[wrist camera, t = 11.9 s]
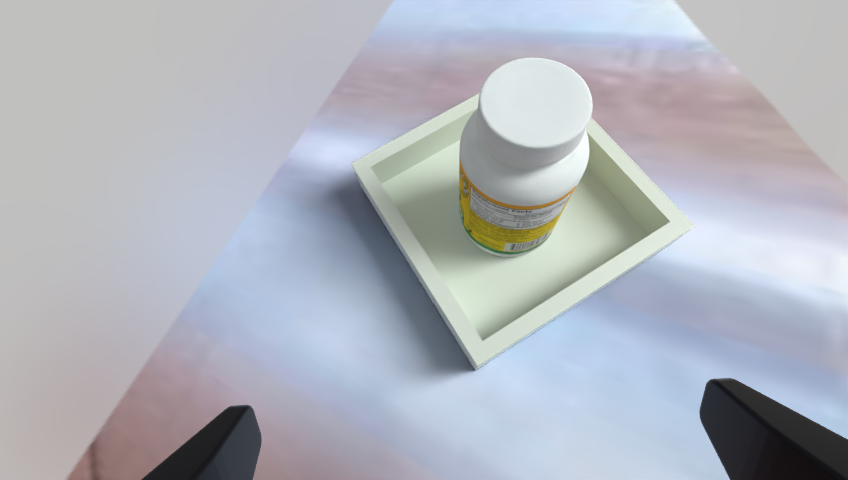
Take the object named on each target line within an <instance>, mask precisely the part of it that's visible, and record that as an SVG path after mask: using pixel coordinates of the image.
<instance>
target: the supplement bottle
mask: <svg viewBox="0 0 848 480" xmlns="http://www.w3.org/2000/svg"><path fill="white" fill-rule="evenodd" d="M591 113H592V97H591V93H590V91H589V88H588V86H587V85H586V83H585V81H584V80H583V79H582V78H581V77H580V76H579V75H578V74H577V73H576V72H575V71H573V70H572V69H571V68H569V67H567V66H566V65H564V64H561V63H559V62H556V61H553V60H549V59H544V58H522V59H518V60H514V61H511V62H508V63H506V64H504V65H502V66H500V67H499V68H497V69H496V70H495V71H494V72H493V73H491V74H490V75H489V77H488V78H487V79H486V81H485V82H484V84H483V86H482V89H481V91H480V94H479V101H478V109H477V110H476V111H475V112H474V113H473V114H472V115H471V117H470V118H469V119H468V121H467V123H466V125H465V127H464V129H463V132H462V135H461V139H460V149H459V212H460V218H461V223H462V226H463V229H464V231H465V233H466V235H467V236H468V238H469V239H470V240H471V241H472V242H473V243H474V244H475V245H476V246H477V247H479V248H480V249H482V250H484V251H486V252H488V253H490V254H493V255H497V256H502V257H515V256H521V255H525V254H528V253H530V252H532V251H534V250H536V249H537V248H539V247H540V246H541V245H542V244H543V243H544V242H545V241H546V240H547V239H548V238H549V236H550V235H551V233H552V231H553V229H554V227H555V225H556V224H557V222H558V220H559V218H560V216H561V214H562V213H563V211H564V209H565V207H566V205H567V203H568V201H569V199H570V197H571V196H572V194H573V192H574V190H575V188H576V187H577V185H578V183H579V181H580V180H581V178H582V176H583V174H584V172H585V169H586V167H587V163H588V159H589V140H588V135H587V132H586V127H587V125H588V122H589V120H590V117H591Z"/></svg>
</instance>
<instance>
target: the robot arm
mask: <svg viewBox="0 0 848 480" xmlns="http://www.w3.org/2000/svg"><path fill="white" fill-rule="evenodd" d="M700 419H701V422H702V424H703V427H704V429H705V431H706V433H707V435H708V437H709V439H710V441H711V443H712V445H713V447H714V449H715V451H716V452H717V454H718V456H719V458H720V460H721V462H722V464H723V466H724V468H725V470H726V472H727V474H728V476H729V478H730V480H848V439H846V438H844V437H842V436H840V435H838V434H836V433H834V432H833V431H831V430H829V429H827V428H825V427H823V426H821V425H820V424H818V423H816V422H814V421H812V420H810V419H808V418H806V417H805V416H803V415H801V414H799V413H797V412H795V411H793V410H791V409H790V408H788V407H786V406H784V405H782V404H780V403H778V402H776V401H775V400H773V399H771V398H769V397H767V396H765V395H763V394H761V393H760V392H758V391H756V390H754V389H752V388H750V387H748V386H746V385H745V384H743V383H741V382H739V381H737V380H735V379H731V378H722V379H711V380H709V381H708V382H707V384H706V387H705V391H704V395H703V399H702V403H701V407H700ZM260 448H261V432H260V429H259V426H258V423H257V420H256V416H255V413H254V410H253V408H252V407H251V406H249V405H237V406H230V407H228V408H227V409H225V410H224V411H223V412H222V413H220V414H219V415H218V416H217V417H216V418H214V419H213V420H212V421H211V422H210V423H209V424H207V425H206V426H205V427H204V428H203V429H201V430H200V431H199V432H198V433H197V434H195V435H194V436H193V437H192V438H191V439H189V440H188V441H187V442H186V443H185V444H183V445H182V446H181V447H180V448H179V449H177V450H176V451H175V452H174V453H173V454H171V455H170V456H169V457H168V458H167V459H165V460H164V461H163V462H162V463H161V464H159V465H158V466H157V467H156V468H155V469H153V470H152V471H151V472H150V473H149V474H147V475H146V476H145V477H144V478H143V479H141V480H253V476H254V472H255V468H256V464H257V460H258V456H259V452H260Z"/></svg>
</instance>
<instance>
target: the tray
mask: <svg viewBox="0 0 848 480" xmlns="http://www.w3.org/2000/svg"><path fill="white" fill-rule="evenodd" d="M479 94H480V93H479ZM479 94H477V95H475V96H473V97H472V98H470V99H468V100H466V101H464V102H462V103H461V104H459V105H457V106H455V107H453V108H451V109H450V110H448V111H446V112H444V113H442V114H440V115H439V116H437V117H435V118H433V119H431V120H429V121H428V122H426V123H424V124H422V125H420V126H419V127H417V128H415V129H413V130H411V131H409V132H408V133H406V134H404V135H402V136H400V137H398V138H397V139H395V140H393V141H391V142H389V143H387V144H386V145H384V146H382V147H380V148H378V149H376V150H375V151H373V152H371V153H369V154H367V155H365V156H364V157H362V158H360V159H358V160H356V161H354V162H353V163H351V165H352V167H353V169H354V172H355V174H356V176H357V178H358V181H359V183H360V185H361V187H362V189H363V191H364V193H365V194H366V196H367V197H368V199H369V201H370V202H371V204H372V206H373V207H374V209H375V210H376V212H377V214H378V215H379V217H380V218H381V220H382V222H383V223H384V225H385V226H386V228H387V230H388V231H389V233H390V235H391V236H392V238H393V239H394V241H395V243H396V244H397V246H398V247H399V249H400V251H401V252H402V254H403V255H404V257H405V259H406V260H407V262H408V264H409V265H410V267H411V268H412V270H413V272H414V273H415V275H416V276H417V278H418V280H419V281H420V283H421V284H422V286H423V288H424V289H425V291H426V293H427V294H428V296H429V297H430V299H431V301H432V302H433V304H434V305H435V307H436V309H437V310H438V312H439V313H440V315H441V317H442V318H443V320H444V322H445V323H446V325H447V326H448V328H449V330H450V331H451V333H452V334H453V336H454V338H455V339H456V341H457V342H458V344H459V346H460V347H461V349H462V351H463V352H464V354H465V355H466V357H467V359H468V360H469V362H470V363H471V365H472V367H473V368H474V370H475V371H476V370H477V369H479V368H480V367H482V366H484V365H485V364H487V363H488V362H490V361H491V360H493V359H494V358H496V357H498V356H499V355H501V354H502V353H504V352H505V351H507V350H508V349H510V348H511V347H513V346H515V345H516V344H518V343H519V342H521V341H522V340H524V339H525V338H527V337H529V336H530V335H532V334H533V333H535V332H536V331H538V330H539V329H541V328H542V327H544V326H546V325H547V324H549V323H550V322H552V321H553V320H555V319H556V318H558V317H560V316H561V315H563V314H564V313H566V312H567V311H569V310H570V309H572V308H573V307H575V306H577V305H578V304H580V303H581V302H583V301H584V300H586V299H587V298H589V297H591V296H592V295H594V294H595V293H597V292H598V291H600V290H601V289H603V288H604V287H606V286H608V285H609V284H611V283H612V282H614V281H615V280H617V279H618V278H620V277H622V276H623V275H625V274H626V273H628V272H629V271H631V270H632V269H634V268H635V267H637V266H639V265H640V264H642V263H643V262H645V261H646V260H648V259H649V258H651V257H653V256H654V255H656V254H657V253H659V252H660V251H662V250H663V249H665V248H667V247H668V246H669V245H671V244H672V243H673V242H675V241H676V240H677V239H679V238H680V237H681V236H683V235H684V234H685V233H687V232H688V231H689V230H691V229H692V228H693V227H695V226H694V224H693V223H692V222H691V221H690V220H689V219H688V218H687V217H686V216H685V215H684V214H683V213H682V212H681V211H680V210H679V209H678V208H677V207H676V206H675V205H674V204H673V202H672V201H671V200H670V199H669V198H668V197H667V196H666V195H665V194H664V193H663V192H662V191H661V190H660V189H659V188H658V187H657V186H656V185H655V184H654V183H653V181H652V180H651V179H650V178H649V177H648V176H647V175H646V174H645V173H644V172H643V171H642V170H641V169H640V168H639V167H638V166H637V165H636V164H635V163H634V162H633V161H632V159H631V158H630V157H629V156H628V155H627V154H626V153H625V152H624V151H623V150H622V149H621V148H620V147H619V146H618V145H617V144H616V143H615V142H614V141H613V140H612V139H611V137H610V136H609V135H608V134H607V133H606V132H605V131H604V130H603V129H602V128H601V127H600V126H599V125H598V124H597V123H596V122H595V121H594V120H593V119H592V118H591V117H590V120H589V122H588V125H587V127H586V132H587V135H588V140H589V159H588V163H587V167H586V169H585V172H584V174H583V176H582V178H581V180H580V181H579V183H578V185H577V187H576V188H575V190H574V192H573V194H572V196H571V197H570V199H569V201H568V203H567V205H566V207H565V209H564V211H563V213H562V214H561V216H560V218H559V220H558V222H557V224H556V225H555V227H554V229H553V231H552V233H551V235H550V236H549V238H548V239H547V240H546V241H545V242H544V243H543V244H542V245H541V246H540V247H539V248H537V249H536V250H534V251H532V252H530V253H528V254H525V255H521V256H515V257H502V256H497V255H493V254H490V253H488V252H486V251H484V250H482V249H480V248H479V247H477V246H476V245H475V244H474V243H473V242H472V241H471V240H470V239H469V238H468V236H467V235H466V233H465V231H464V229H463V226H462V223H461V218H460V212H459V149H460V139H461V135H462V132H463V129H464V127H465V125H466V123H467V121H468V119H469V118H470V117H471V115H472V114H473V113H474V112H475V111H476V110H477V109H478V101H479Z"/></svg>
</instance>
